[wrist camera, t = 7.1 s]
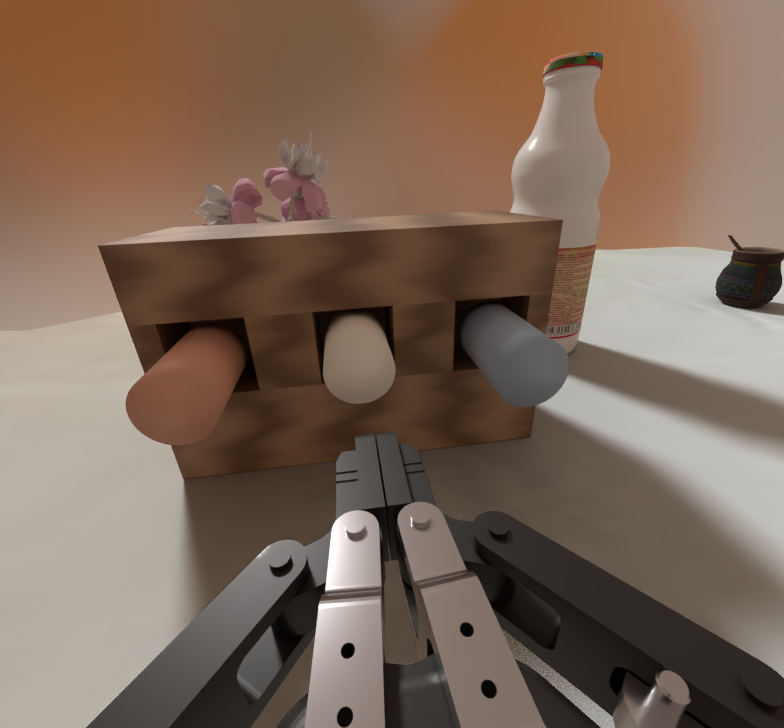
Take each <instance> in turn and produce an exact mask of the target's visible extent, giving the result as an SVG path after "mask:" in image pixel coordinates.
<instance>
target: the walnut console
mask: <svg viewBox="0 0 784 728" xmlns="http://www.w3.org/2000/svg"><path fill="white" fill-rule="evenodd" d="M562 224H563V220H561V219H554V218H547V217H540V216H532V215H525V214H518V213H511V212H502V211H483V212H463V213H445V214H424V215H405V216H386V217H366V218H347V219H328V220H308V221H289V222H270V223H250V224H231V225H212V226H193V227H173V228H168V229H165V230H161V231H156V232H152V233H148V234H144V235H140V236H135V237H131V238H127V239H123V240H119V241H115V242H111V243H106V244H102V245H98V247H99V250H100V253H101V255H102V258H103V261H104V264H105V266H106V269H107V272H108V275H109V277H110V280H111V283H112V286H113V288H114V291H115V294H116V296H117V299H118V302H119V304H120V307H121V310H122V313H123V316H124V318H125V321H126V324H127V326H128V329H129V332H130V335H131V337H132V340H133V343H134V346H135V348H136V351H137V354H138V356H139V359H140V362H141V365H142V367H143V370H144V373H146V372H148V371H149V370H150V369H151V368H152V367H153V366H154V365H155V364H156V363H157V362H158V361H159V360H160V359H161V358H162V357H163V356H164V355H165V354H166V353H167V352H168V351H169V350H170V349H171V348H172V347H173V346H174V345H175V344H176V343H177V342H178V341H179V340H180V339H181V338H182V337H183V336H184V335H185V334H186V333H187V332H188V331H190V330H191V329H192V328H194V327H195V326H198V325H201V324H205V323H216V324H221V325H224V326H227V327H229V328H231V329H232V330H234V331H235V332H236V333H238V334H239V335H240V337H241V338H242V339H243V341H244V342H245V344H246V347H247V350H248V361H247V364H246V366H245V368H244V370H243V372H242V374H241V376H240V378H239V380H238V382H237V384H236V386H235V388H234V390H233V392H232V394H231V396H230V398H229V400H228V402H227V404H226V406H225V408H224V410H223V412H222V414H221V416H220V418H219V420H218V422H217V424H216V426H215V428H214V429H213V431H212V432H211V433H210V434H209V435H208V436H207V437H206V438H204V439H202V440H201V441H198V442H196V443H193V444H188V445H171V446H172V449H173V452H174V455H175V457H176V460H177V463H178V466H179V468H180V471H181V474H182V476H183V479H189V478H197V477H205V476H213V475H222V474H230V473H238V472H246V471H255V470H263V469H271V468H279V467H288V466H296V465H304V464H312V463H321V462H329V461H337V460H338V458H339V456H340V454H341V453H342V452H345V451H354V450H356V444H355V436H363V435H372V434H374V437H375V443H376V434H380V433H388V432H395V434H396V438H397V442H398V445H403V444H411V445H412V446H413V447H414V448H415V449H416V450H417V451H419V450H428V449H436V448H444V447H452V446H461V445H469V444H477V443H485V442H494V441H502V440H510V439H518V438H527V437H531V430H532V423H533V417H534V410H535V406H530V407H519V406H515V405H512V404H510V403H508V402H507V401H505V400H504V399H503V398H502V397H501V395H500V394H499V393H498V392H497V390H496V389H495V388H494V387H493V385H492V384H491V383H490V382H489V380H488V379H487V378H486V377H485V375H484V374H483V373H482V372H481V370H480V369H479V368H478V367H477V365H476V364H475V363H474V362H473V360H472V359H471V358H470V357H469V355H468V354H467V353H466V352H465V350H464V349H463V348H462V346H461V345H460V343H459V341H458V337H457V328H458V324H459V321H460V319H461V317H462V316H463V314H464V313H465V312H466V311H467V310H468V309H469V308H471V307H472V306H474V305H476V304H478V303H481V302H485V301H494V302H498V303H500V304H502V305H503V306H505V307H506V308H508V309H509V310H511V311H512V312H514V313H515V314H516V315H518V316H519V317H521V318H522V319H524V320H525V321H527V322H528V323H529V324H531V325H532V326H534V327H535V328H537V329H538V330H539V331H541V332H542V333H544V334H545V335H546V330H547V323H548V317H549V310H550V303H551V297H552V290H553V283H554V277H555V270H556V263H557V257H558V250H559V244H560V237H561V230H562ZM358 308H372V309H373V310H374V311H375V312H376V314H377V315H378V317H379V319H380V321H381V324H382V327H383V330H384V333H385V336H386V339H387V342H388V345H389V348H390V351H391V353H392V356H393V359H394V363H395V368H396V373H395V378H394V381H393V384H392V386H391V387H390V389H389V390H388V391H387V392H386V393H385V394H384V395H383V396H381V397H380V398H378V399H376V400H374V401H372V402H368V403H363V404H353V403H348V402H345V401H342V400H340V399H339V398H337V397H336V396H334V395H333V394H332V393H331V392H330V391H329V389H328V388H327V386H326V384H325V381H324V377H323V365H324V349H325V334H326V323H327V320H328V318H329V316H330V314H331V313H332V312H333V311H334V310H345V309H358ZM376 449H377V448H376Z"/></svg>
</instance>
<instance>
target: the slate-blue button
mask: <svg viewBox="0 0 784 728" xmlns="http://www.w3.org/2000/svg"><path fill="white" fill-rule="evenodd" d="M457 337H458V341H459V343H460V345H461V346H462V348H463V349H464V350H465V352H466V353H467V354H468V355H469V357H470V358H471V359H472V360H473V362H474V363H475V364H476V365H477V367H478V368H479V369H480V370H481V372H482V373H483V374H484V375H485V377H486V378H487V379H488V380H489V382H490V383H491V384H492V385H493V387H494V388H495V389H496V390H497V392H498V393H499V394H500V395H501V397H502V398H503V399H504V400H505V401H507V402H508V403H510V404H512V405H515V406H519V407H530V406H535V405H538V404H540V403H543V402H545V401H547V400H548V399H550V398H551V397H552V396H554V395H555V394H556V393H557V392H558V391H559V389H560V388H561V387H562V385H563V384H564V382H565V380H566V378H567V375H568V372H569V358H568V355H567V353H566V351H565V350H564V348H563V347H562V346H561V345H560V344H558V343H557V342H555V341H554V340H552V339H551V338H550V337H548V336H547V335H545V334H544V333H542V332H541V331H539V330H538V329H537V328H535V327H534V326H532V325H531V324H529V323H528V322H527V321H525V320H524V319H522V318H521V317H519V316H518V315H516V314H515V313H514V312H512V311H511V310H509V309H508V308H506V307H505V306H503V305H502V304H500V303H498V302H494V301H485V302H481V303H478V304H476V305H474V306H472V307H471V308H469V309H468V310H467V311H466V312H465V313H464V314H463V316H462V317H461V319H460V321H459V324H458V328H457Z"/></svg>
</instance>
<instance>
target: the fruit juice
mask: <svg viewBox="0 0 784 728" xmlns="http://www.w3.org/2000/svg"><path fill="white" fill-rule="evenodd" d="M602 65H603V56H602V54H601V53H597V52H577V53H571V54H566V55H562V56H559V57H556V58H553V59H551V60H550V61H548V62H547V63H546V65H545V69H544V74H543V78H544V81H543V84H544V86H545V89H546V90H545V97H544V102H543V106H542V109H541V112H540V115H539V118H538V121H537V123H536V125H535V128H534V130H533V132H532V134H531V136H530V137H529V139H528V140H527V141H526V143H525V144H524V145H523V147H522V148H521V149H520V151H519V152H518V154H517V156H516V158H515V160H514V164H513V168H512V175H511V180H512V187H513V194H514V203H513V206H512V209H511V211H510V212H511V213H518V214H525V215H532V216H540V217H547V218H554V219H561V220H563V224H562V230H561V237H560V244H559V250H558V257H557V263H556V270H555V277H554V283H553V290H552V297H551V303H550V310H549V317H548V323H547V330H546V335H547V336H548V337H550V338H551V339H552V340H554V341H555V342H557V343H558V344H560V345H561V346H562V347H563V348H564V350H565V351H566V353H567V354H568V353H570V352H571V351H573V349H574V348H575V346H576V344H577V341H578V338H579V332H580V327H581V322H582V317H583V312H584V306H585V301H586V296H587V291H588V285H589V280H590V275H591V270H592V264H593V259H594V254H595V249H596V244H597V240H598V233H599V225H600V211H599V208H598V197H599V193H600V191H601V189H602V187H603V185H604V182H605V180H606V178H607V175H608V172H609V166H610V151H609V148H608V146H607V144H606V142H605V140H604V139H603V137H602V136H601V134H600V132H599V130H598V127H597V123H596V117H595V108H594V89H595V84H596V81H597V79H599V77H600V73H601V70H602Z"/></svg>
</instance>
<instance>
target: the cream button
mask: <svg viewBox="0 0 784 728" xmlns="http://www.w3.org/2000/svg"><path fill="white" fill-rule="evenodd" d="M395 373H396V368H395V363H394V359H393V356H392V353H391V351H390V348H389V345H388V342H387V339H386V336H385V333H384V330H383V327H382V324H381V321H380V319H379V317H378V315H377V314H376V312H375V311H374V310H373V309H372V308H358V309H345V310H334V311H333V312H332V313H331V314H330V316H329V318H328V320H327V323H326V334H325V349H324V365H323V377H324V381H325V384H326V386H327V388H328V389H329V391H330V392H331V393H332V394H333V395H334V396H336V397H337V398H339V399H340V400H342V401H345V402H348V403H353V404H363V403H368V402H372V401H374V400H376V399H378V398H380V397H381V396H383V395H384V394H385V393H386V392H387V391H388V390H389V389H390V387H391V386H392V384H393V381H394V378H395Z"/></svg>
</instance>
